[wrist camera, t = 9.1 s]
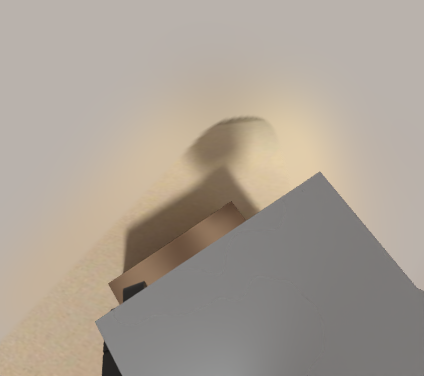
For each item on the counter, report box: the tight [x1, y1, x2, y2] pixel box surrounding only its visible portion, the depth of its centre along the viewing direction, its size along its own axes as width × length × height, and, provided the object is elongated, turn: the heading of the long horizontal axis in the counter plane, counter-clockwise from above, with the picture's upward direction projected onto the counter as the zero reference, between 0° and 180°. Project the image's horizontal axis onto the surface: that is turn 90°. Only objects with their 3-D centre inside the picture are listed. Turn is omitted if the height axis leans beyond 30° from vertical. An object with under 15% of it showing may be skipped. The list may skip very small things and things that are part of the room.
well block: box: [108, 201, 246, 305], centre depth 25 cm, size 12×12×4 cm
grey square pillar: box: [95, 172, 424, 376], centre depth 10 cm, size 4×4×11 cm
